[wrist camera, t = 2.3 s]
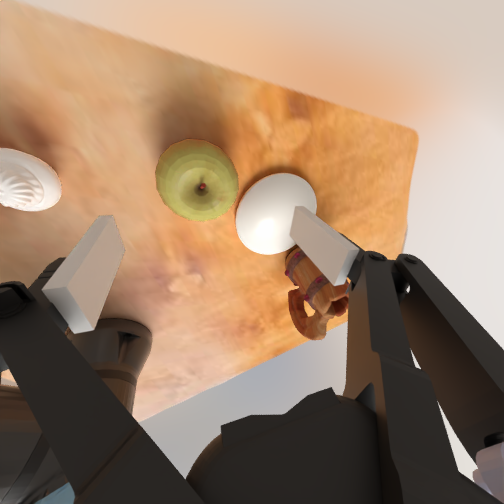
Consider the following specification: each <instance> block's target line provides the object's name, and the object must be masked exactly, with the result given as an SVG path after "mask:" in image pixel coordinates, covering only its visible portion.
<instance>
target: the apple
mask: <svg viewBox="0 0 504 504" xmlns="http://www.w3.org/2000/svg"><path fill="white" fill-rule="evenodd" d="M155 174H156V185H157V190H158V192H159V194H160V196H161V198H162V200H163V202H164V204H166V205H167V206H168V207H169V208H170V209H171V210H172V211H173V212H174V213H175V214H177V215H179V216H181V217H183V218H186V219H188V220H194V221H207V220H212V219H216V218H218V217H219V216H221V215H223V214H224V213H226V212H227V211H228V210H229V209H230V207H231V206H232V205H233V203H234V202H235V200H236V196H237V193H238V190H239V183H238V174H237V171H236V169H235V167H234V165H233V162H232V160H231V159H230V158H229V157H228V156H227V155H226V154H225V153H224V152H223V151H222V150H221V148H220V147H218V146H216V145H214V144H212V143H210V142H208V141H205V140H199V139H185V140H182V141H180V142H177V143H174V144H172V145H171V146H170V147H169V148H168V149H167V150H166V151H165V152H164V153H163V154H162V155H161V156H160V159H159V162H158V165H157V168H156V171H155Z"/></svg>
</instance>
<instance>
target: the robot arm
mask: <svg viewBox="0 0 504 504" xmlns="http://www.w3.org/2000/svg"><path fill="white" fill-rule="evenodd" d="M289 236H290V237H291V238H292V239H293V240H294V241H295V242H296V244H297V245H298V246H299V247H300V248H301V249H302V250H303V251H304V253H305V254H306V255H307V256H308V257H309V258H310V259H311V261H312V262H313V263H314V264H315V265H316V266H317V267H318V268H319V270H320V271H321V272H322V273H323V274H324V275H325V276H326V278H327V279H328V280H329V281H330V282H331V283H332V284H333V285H334V286H337V285H342V284H344V283H345V281H346V278H347V277H348V278H349V279H350V280H351V282H350V284H349V286H348V288H347V290H346V292H345V294H347V293H348V292H349V301H348V333H347V334H348V336H347V365H346V366H347V367H346V385H345V390H344V393H343V396H340V395H336V394H335V393H334V391H333V389H332V387H331V388H328V389H324V390H322V391H319V392H316V393H313V394H310V395H308V396H306V397H305V398H304V399H303V400H301V401H300V402H299V403H298V404H296V405H295V406H294V407H293V408H292V409H290V410H289V411H288V412H287V413H285V414H282V415H250V416H247V417H245V418H241V419H239V420H236V421H233V422H230V423H227V424H224V425H221V434H220V435H219V436H217V437H216V438H215V439H214V440H213V441H211V442H210V444H208V446H207V447H206V448H205V449H204V450H203V451H202V453H201V454H200V455H199V457H198V458H197V460H196V461H195V463H194V464H193V466H192V468H191V470H190V472H189V473H188V475H187V477H186V480H185V479H184V477H183V476H182V475H181V474H180V473H179V471H178V470H177V469H176V468H175V467H174V465H173V464H172V463H171V462H170V461H169V459H168V458H167V457H166V456H165V454H164V453H163V452H162V451H161V450H160V448H159V447H158V446H157V445H156V444H155V442H154V441H153V440H152V439H151V438H150V436H149V435H148V434H147V433H146V432H145V430H144V429H143V428H142V427H141V426H140V425H139V424H138V422H137V421H136V420H135V419H134V418H133V416H132V411H133V405H134V398H135V391H136V384H137V379H138V377H139V375H140V372H141V370H142V368H143V366H144V364H145V362H146V360H147V358H148V356H149V354H150V351H151V345H152V335H151V333H150V331H149V330H148V329H147V328H146V327H144V326H143V325H141V324H139V323H136V322H133V321H130V320H124V319H101V320H98V319H99V316H100V314H101V311H102V309H103V306H104V304H105V301H106V298H107V296H108V293H109V291H110V288H111V286H112V283H113V281H114V278H115V276H116V273H117V270H118V268H119V265H120V263H121V260H122V258H123V255H124V253H125V248H124V246H123V243H122V240H121V237H120V234H119V232H118V229H117V226H116V223H115V220H114V217H113V215H107V216H98V218H97V219H96V220H95V221H94V223H93V224H92V225H91V227H90V228H89V229H88V231H87V232H86V233H85V234H84V236H83V237H82V238H81V240H80V241H79V242H78V243H77V245H76V246H75V247H74V249H73V250H72V251H71V252H70V254H69V255H68V256H67V257H64V258H58V259H57V260H55V261H54V262H52V263H51V264H49V265H48V266H47V267H46V269H45V270H44V271H43V273H41V274H40V276H39V277H38V279H36V280H35V281H34V283H33V284H32V285H31V286H30V287H29V288H28V289H27V288H26V286H25V285H24V284H23V283H21V282H16V281H11V282H5V283H0V504H504V350H503V349H502V348H501V347H500V345H499V344H498V343H497V342H496V341H495V340H494V339H493V338H492V337H491V336H490V335H489V333H488V332H487V331H486V330H485V329H484V328H483V327H482V326H481V325H480V324H479V323H478V322H477V320H476V319H475V318H474V317H473V316H472V315H471V314H470V313H469V312H468V311H467V310H466V308H465V307H464V306H463V305H462V304H461V303H460V302H459V301H458V300H457V299H456V298H455V296H454V295H453V294H452V293H451V292H450V291H449V290H448V289H447V288H446V287H445V286H444V285H443V283H442V282H441V281H440V280H439V279H438V278H437V277H436V276H435V275H434V274H433V273H432V271H431V270H430V269H429V268H428V267H427V266H426V265H425V264H424V263H423V262H422V261H421V260H420V259H418V258H417V257H415V256H412V255H410V254H409V255H408V254H399V255H398V257H397V259H396V260H388V259H387V258H386V257H385V256H384V255H382V254H380V253H377V252H374V251H364V250H363V249H362V248H360V247H359V246H358V245H356V244H355V243H354V242H352V241H351V240H350V239H348V238H347V237H346V236H344V235H343V234H341V233H339V232H337V231H335V230H334V229H333V228H332V227H330V226H329V225H328V224H326V223H325V222H324V221H322V220H321V219H320V218H318V217H317V216H316V215H315V214H313V213H312V212H311V211H309V210H308V209H307V208H305V207H304V206H295V209H294V214H293V219H292V224H291V229H290V234H289ZM409 285H410V291H409V293H408V292H407V291H406V289H407V288H408V286H409ZM68 326H69V328H70V329H71V330H72V331H70V332H69V333H68V334H67V335H65V334H64V333H65V331H66V329H67V327H68ZM410 348H411V349H410ZM411 350H412V352H413V354H414V356H415V358H416V360H417V362H418V364H419V366H420V367H421V369H419V368H416V367H415V364H414V361H413V357H412V354H411ZM7 369H9V370H10V372H11V373H12V375H13V377H14V379H15V381H16V383H17V385H18V387H16V386H9V385H1V372H2V371H5V370H7ZM437 401H438V402H439V405H440V406H441V408H442V410H443V412H444V414H445V416H446V418H447V420H448V421H449V423H450V425H451V427H452V429H453V430H454V432H455V434H456V435H457V437H458V438H459V440H460V442H461V443H462V445H463V446H464V448H465V449H466V451H467V452H468V454H469V455H470V457H471V458H472V459H473V461H474V462H475V463H476V465H477V467H478V469H476V470H475V471H473V479H474V481H475V483H474V482H473V481H471V480H470V479H469V478H467V477H466V476H464V475H463V474H461V473H460V472H459V471H458V468H457V465H456V461H455V458H454V455H453V452H452V448H451V445H450V442H449V438H448V435H447V431H446V428H445V425H444V422H443V418H442V415H441V412H440V408H439V405H438V402H437Z"/></svg>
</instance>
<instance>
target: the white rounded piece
mask: <svg viewBox="0 0 504 504" xmlns="http://www.w3.org/2000/svg"><path fill="white" fill-rule="evenodd" d="M61 186H62V185H61V181H60V179H59V177H58V175H57V173H56V172H55V170H54V169H52V167H51V166H49V165H48V164H47V163H46V162H44V161H42V160H41V159H39V158H36V157H34V156H33V155H31V154H27V153H24V152H21V151H18V150H15V149H9V148H0V203H1V204H2V205H3V206H5V207H7V206H9V207H12V208H15V209H19V210H24V211H41V210H45V209H48V208H50V207H52V206H53V205H55V204H56V203H57V202H58V201H59V199H60V197H61V193H62V188H61Z"/></svg>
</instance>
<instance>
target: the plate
mask: <svg viewBox="0 0 504 504" xmlns="http://www.w3.org/2000/svg"><path fill="white" fill-rule="evenodd" d="M295 206H304V207H305V208H307V209H308V210H309V211H311V212H312V213H313V214H315V215H316V209H317V201H316V196H315V193H314V191H313V189H312V187H311V186H310V185H309V183H308V182H306V181H305V180H304V179H302V178H301V177H299V176H297V175H294V174H290V173H276V174H271V175H269V176H266V177H264V178H262V179H260V180H259V181H257V182H256V183H254V184H253V185H252V186H251V187H250V188H249V189H248V190H247V191H246V193H245V194H244V195H243V197H242V199H241V201H240V202H239V205H238V208H237V211H236V217H235V225H236V230H237V233H238V236H239V238H240V239H241V241H242V242H243V244H244V245H245V246H246V247H247V248H249V249H250V250H252V251H254V252H256V253H260V254H276V253H280V252H283V251H286V250H288V249H290V248H291V247H293V246H294V245H296V242H295V241H294V240H293V239H292V238H291V237H290V236H289V234H290V229H291V224H292V219H293V214H294V209H295Z"/></svg>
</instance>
